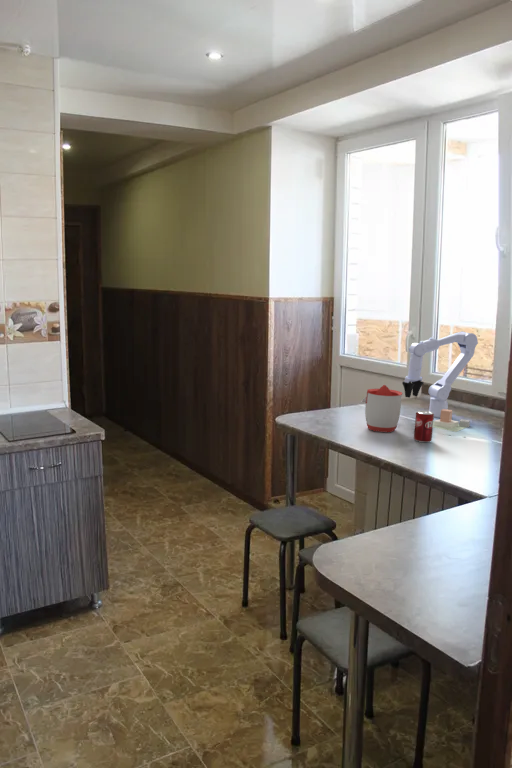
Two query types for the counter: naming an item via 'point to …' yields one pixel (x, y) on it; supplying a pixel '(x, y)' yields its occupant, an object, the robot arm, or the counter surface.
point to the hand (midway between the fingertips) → (411, 396)
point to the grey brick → (464, 423)
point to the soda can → (423, 426)
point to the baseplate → (450, 428)
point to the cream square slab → (446, 423)
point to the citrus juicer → (382, 409)
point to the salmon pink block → (446, 415)
